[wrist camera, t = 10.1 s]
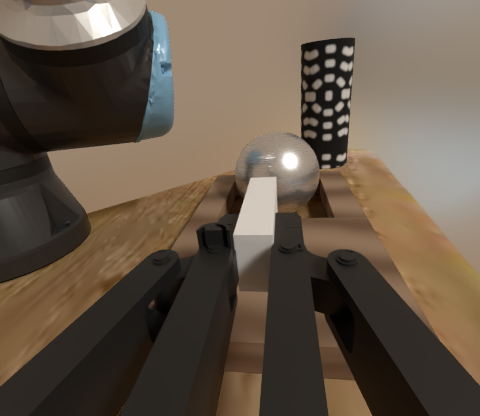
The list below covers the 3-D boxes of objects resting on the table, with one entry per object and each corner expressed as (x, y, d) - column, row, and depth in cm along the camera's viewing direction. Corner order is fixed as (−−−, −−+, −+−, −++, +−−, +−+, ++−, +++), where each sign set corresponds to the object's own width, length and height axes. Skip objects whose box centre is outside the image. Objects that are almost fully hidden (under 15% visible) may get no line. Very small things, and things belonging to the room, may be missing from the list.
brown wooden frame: (437, 386, 15) (447, 353, 14) (125, 363, 18) (115, 335, 17) (338, 186, 42) (339, 170, 41) (220, 190, 45) (218, 175, 44)
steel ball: (214, 139, 34) (225, 218, 37) (267, 130, 26) (277, 232, 28) (275, 132, 40) (282, 201, 42) (335, 123, 31) (340, 209, 34)
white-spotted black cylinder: (350, 167, 50) (360, 35, 41) (302, 169, 51) (302, 42, 43) (341, 155, 57) (349, 41, 49) (299, 157, 58) (299, 47, 50)
